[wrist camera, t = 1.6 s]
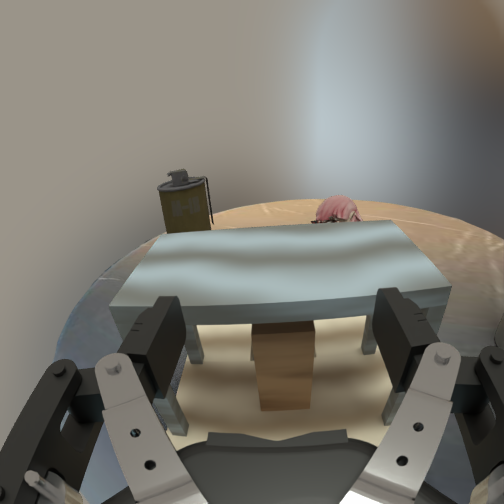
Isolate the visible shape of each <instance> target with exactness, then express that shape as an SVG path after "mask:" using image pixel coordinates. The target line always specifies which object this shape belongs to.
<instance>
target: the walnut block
mask: <svg viewBox="0 0 504 504" xmlns="http://www.w3.org/2000/svg"><path fill="white" fill-rule="evenodd" d="M251 338H252V346H253V354H254V362H255V370H256V378H257V385H258V393H259V400H260V408H261V411H285V410H301V409H310V402H311V391H312V378H313V365H314V349H315V326H314V320H311V321H296V322H280V323H260V324H252V329H251Z"/></svg>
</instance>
